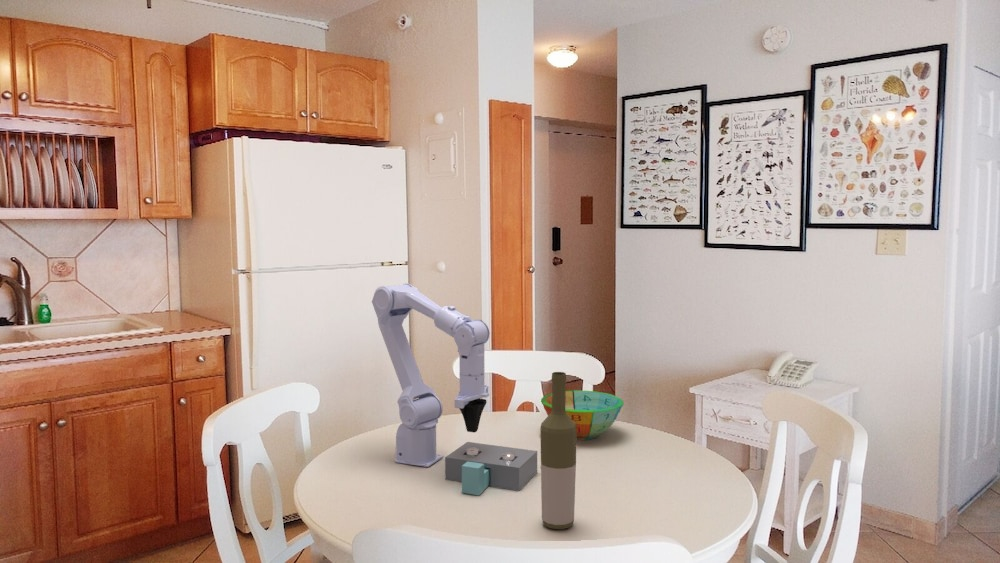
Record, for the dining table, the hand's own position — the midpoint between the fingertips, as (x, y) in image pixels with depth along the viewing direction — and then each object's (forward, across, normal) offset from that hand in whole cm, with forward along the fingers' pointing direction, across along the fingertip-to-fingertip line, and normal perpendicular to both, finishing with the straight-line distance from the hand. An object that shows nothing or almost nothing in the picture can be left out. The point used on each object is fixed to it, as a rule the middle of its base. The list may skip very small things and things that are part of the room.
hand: (472, 431), depth 165 cm
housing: (+10, +1, -4) cm, 11 cm away
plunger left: (+7, 0, 0) cm, 7 cm away
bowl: (+11, +38, -16) cm, 42 cm away
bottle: (+10, -18, -26) cm, 34 cm away
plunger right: (+7, 0, -9) cm, 11 cm away
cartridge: (+10, -4, -5) cm, 12 cm away
